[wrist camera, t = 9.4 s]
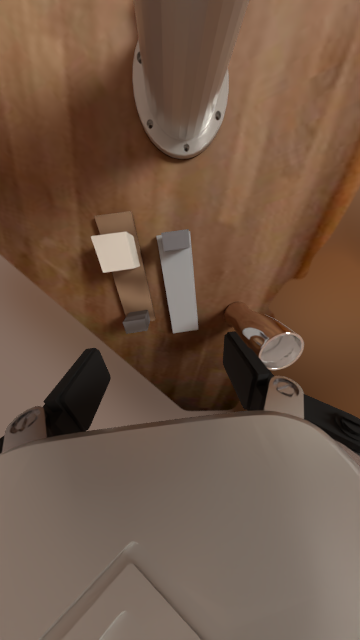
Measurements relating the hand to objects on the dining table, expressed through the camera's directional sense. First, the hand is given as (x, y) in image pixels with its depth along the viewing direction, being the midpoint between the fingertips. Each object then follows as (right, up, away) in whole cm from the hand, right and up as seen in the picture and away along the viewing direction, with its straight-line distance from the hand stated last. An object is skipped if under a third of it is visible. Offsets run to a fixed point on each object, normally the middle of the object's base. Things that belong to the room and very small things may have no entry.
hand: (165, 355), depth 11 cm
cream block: (-9, +15, +15) cm, 23 cm away
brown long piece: (-9, +12, +18) cm, 23 cm away
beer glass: (+14, +4, +24) cm, 28 cm away
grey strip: (+1, +9, +20) cm, 22 cm away
